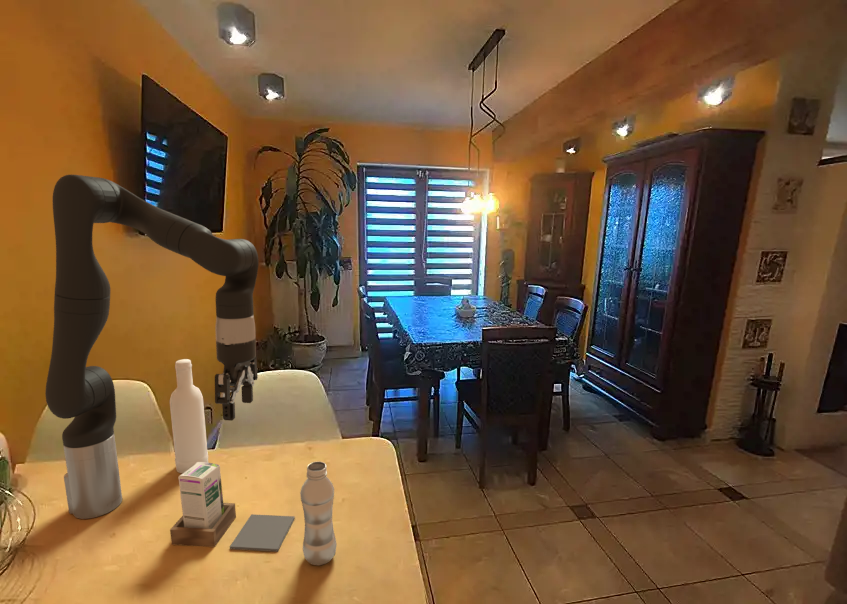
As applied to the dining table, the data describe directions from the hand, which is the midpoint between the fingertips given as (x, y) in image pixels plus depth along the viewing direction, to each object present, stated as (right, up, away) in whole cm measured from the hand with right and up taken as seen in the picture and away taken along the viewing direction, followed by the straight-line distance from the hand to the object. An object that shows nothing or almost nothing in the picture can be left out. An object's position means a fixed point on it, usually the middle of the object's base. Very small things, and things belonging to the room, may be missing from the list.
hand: (238, 410), depth 93 cm
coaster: (+5, -27, +1) cm, 27 cm away
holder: (-8, -26, +2) cm, 28 cm away
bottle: (-24, -22, +26) cm, 42 cm away
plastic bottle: (+19, -28, -5) cm, 34 cm away
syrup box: (-8, -27, +2) cm, 28 cm away
